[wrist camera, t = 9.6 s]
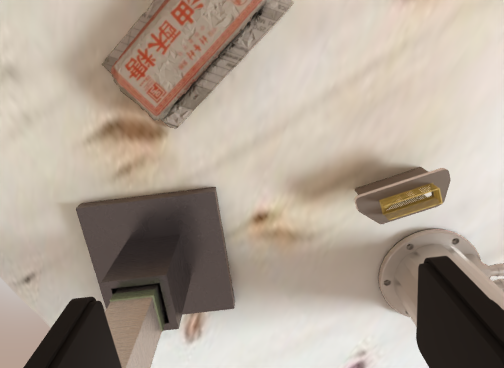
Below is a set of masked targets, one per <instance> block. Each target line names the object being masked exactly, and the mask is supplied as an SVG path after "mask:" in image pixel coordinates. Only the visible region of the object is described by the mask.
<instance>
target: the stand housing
mask: <svg viewBox="0 0 504 368" xmlns="http://www.w3.org/2000/svg"><path fill="white" fill-rule="evenodd" d="M76 211H77V214H78V217H79V221H80V224H81V227H82V230H83V234H84V237H85V240H86V244H87V247H88V250H89V253H90V257H91V260H92V263H93V266H94V270H95V273H96V276H97V279H98V283H99V286H100V289H101V293H102V296H103V299H104V302H105V306H106V309H107V308H108V306H109V304H110V299H111V297H112V295H113V294H115V293H116V291H117V289H118V288H121V287H130V286H138V285H147V284H155V283H160V287H161V291H162V295H163V299H164V303H165V307H166V311H167V314H166V318H165V321H164V323H165V326H164V329H163V330H172V329H179V325H180V321H181V317H182V314H190V313H199V312H208V311H217V310H225V309H234V306H235V300H234V294H233V288H232V282H231V276H230V270H229V264H228V258H227V252H226V246H225V240H224V234H223V228H222V222H221V216H220V210H219V204H218V198H217V192H216V187H212V188H203V189H195V190H187V191H179V192H171V193H163V194H155V195H147V196H138V197H130V198H122V199H114V200H106V201H98V202H90V203H82V204H80V205H79V206H78V207H77V208H76ZM161 332H162V331H161ZM160 335H161V334H160Z"/></svg>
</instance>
